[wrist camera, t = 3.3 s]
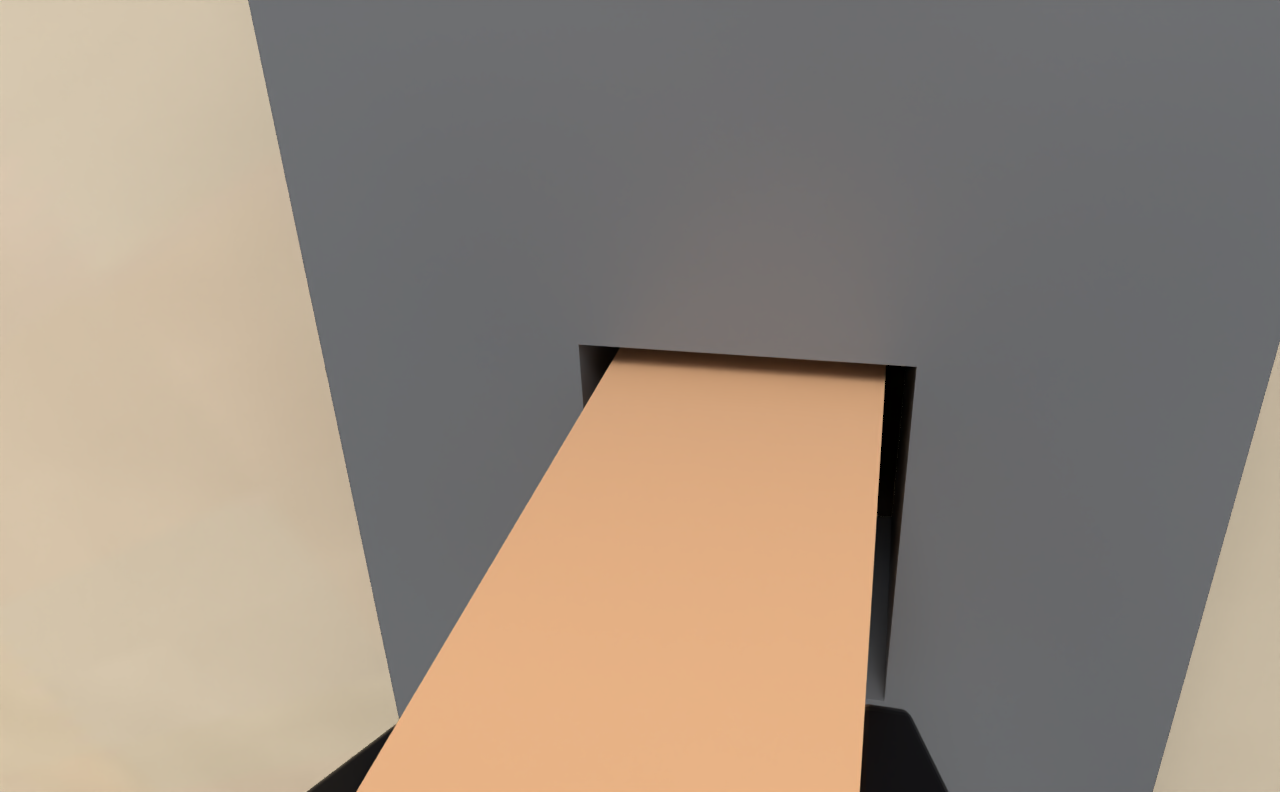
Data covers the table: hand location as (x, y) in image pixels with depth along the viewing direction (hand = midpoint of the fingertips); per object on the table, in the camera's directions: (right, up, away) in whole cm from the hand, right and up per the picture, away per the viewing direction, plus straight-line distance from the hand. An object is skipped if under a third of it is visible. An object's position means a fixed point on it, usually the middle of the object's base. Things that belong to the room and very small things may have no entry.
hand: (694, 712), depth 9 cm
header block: (+2, -2, +9) cm, 9 cm away
